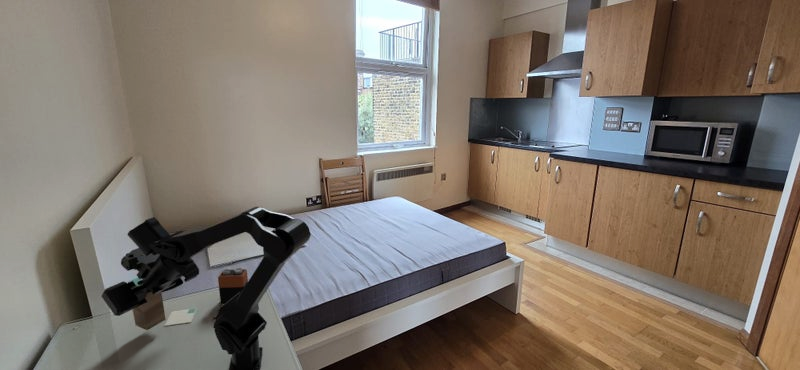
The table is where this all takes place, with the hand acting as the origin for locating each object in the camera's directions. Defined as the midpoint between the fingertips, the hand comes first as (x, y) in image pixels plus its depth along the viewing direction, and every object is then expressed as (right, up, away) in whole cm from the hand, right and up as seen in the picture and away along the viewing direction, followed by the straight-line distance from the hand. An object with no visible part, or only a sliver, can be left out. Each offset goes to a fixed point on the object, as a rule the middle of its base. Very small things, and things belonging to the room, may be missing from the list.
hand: (143, 297), depth 81 cm
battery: (+15, -7, +16) cm, 23 cm away
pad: (+4, -8, +8) cm, 12 cm away
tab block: (+1, -7, +1) cm, 7 cm away
